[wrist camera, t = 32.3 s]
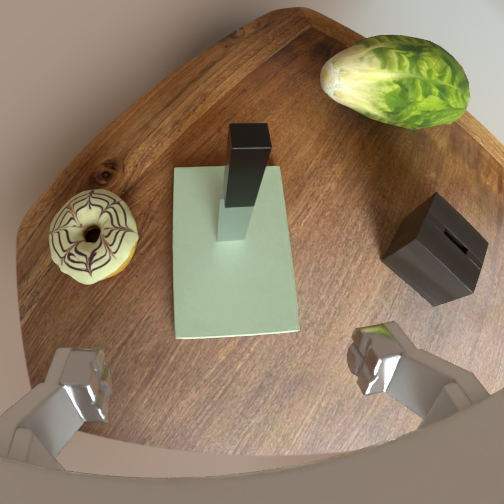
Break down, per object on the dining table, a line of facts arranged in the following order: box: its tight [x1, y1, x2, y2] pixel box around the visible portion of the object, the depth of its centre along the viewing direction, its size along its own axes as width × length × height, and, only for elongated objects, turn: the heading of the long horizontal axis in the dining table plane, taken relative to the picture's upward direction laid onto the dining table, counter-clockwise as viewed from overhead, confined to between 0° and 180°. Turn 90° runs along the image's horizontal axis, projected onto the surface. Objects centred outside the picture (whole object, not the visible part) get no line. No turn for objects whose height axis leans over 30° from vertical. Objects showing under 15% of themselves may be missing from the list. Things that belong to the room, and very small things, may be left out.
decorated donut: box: [49, 189, 139, 284], centre depth 33 cm, size 10×11×4 cm
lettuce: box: [320, 35, 470, 130], centre depth 40 cm, size 15×27×16 cm, turn 105°
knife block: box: [381, 192, 488, 306], centre depth 35 cm, size 8×10×8 cm
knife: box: [217, 123, 272, 242], centre depth 27 cm, size 2×3×18 cm, turn 96°
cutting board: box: [173, 166, 300, 339], centre depth 36 cm, size 20×13×1 cm, turn 5°
